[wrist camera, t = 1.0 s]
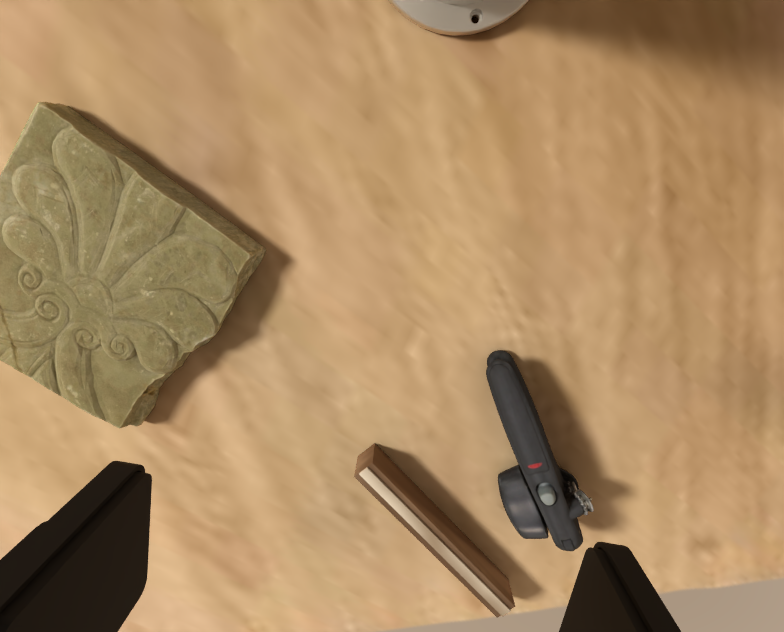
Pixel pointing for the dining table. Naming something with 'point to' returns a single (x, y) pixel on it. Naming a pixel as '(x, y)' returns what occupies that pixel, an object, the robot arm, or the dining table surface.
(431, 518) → the walnut rail
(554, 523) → the can opener
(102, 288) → the decorative tile
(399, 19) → the dining table surface
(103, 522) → the robot arm
